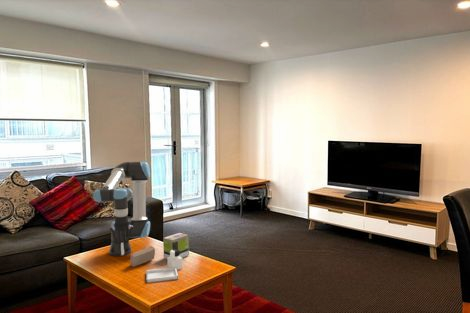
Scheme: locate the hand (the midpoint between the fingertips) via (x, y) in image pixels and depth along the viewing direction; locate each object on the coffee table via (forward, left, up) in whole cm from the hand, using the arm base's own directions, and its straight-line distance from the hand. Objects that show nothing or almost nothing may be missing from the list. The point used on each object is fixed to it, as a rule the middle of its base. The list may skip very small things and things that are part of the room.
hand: (122, 254), depth 203 cm
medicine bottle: (-6, +31, -15) cm, 35 cm away
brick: (-19, +11, -14) cm, 27 cm away
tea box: (-26, +34, -14) cm, 45 cm away
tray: (+5, +22, -14) cm, 27 cm away
